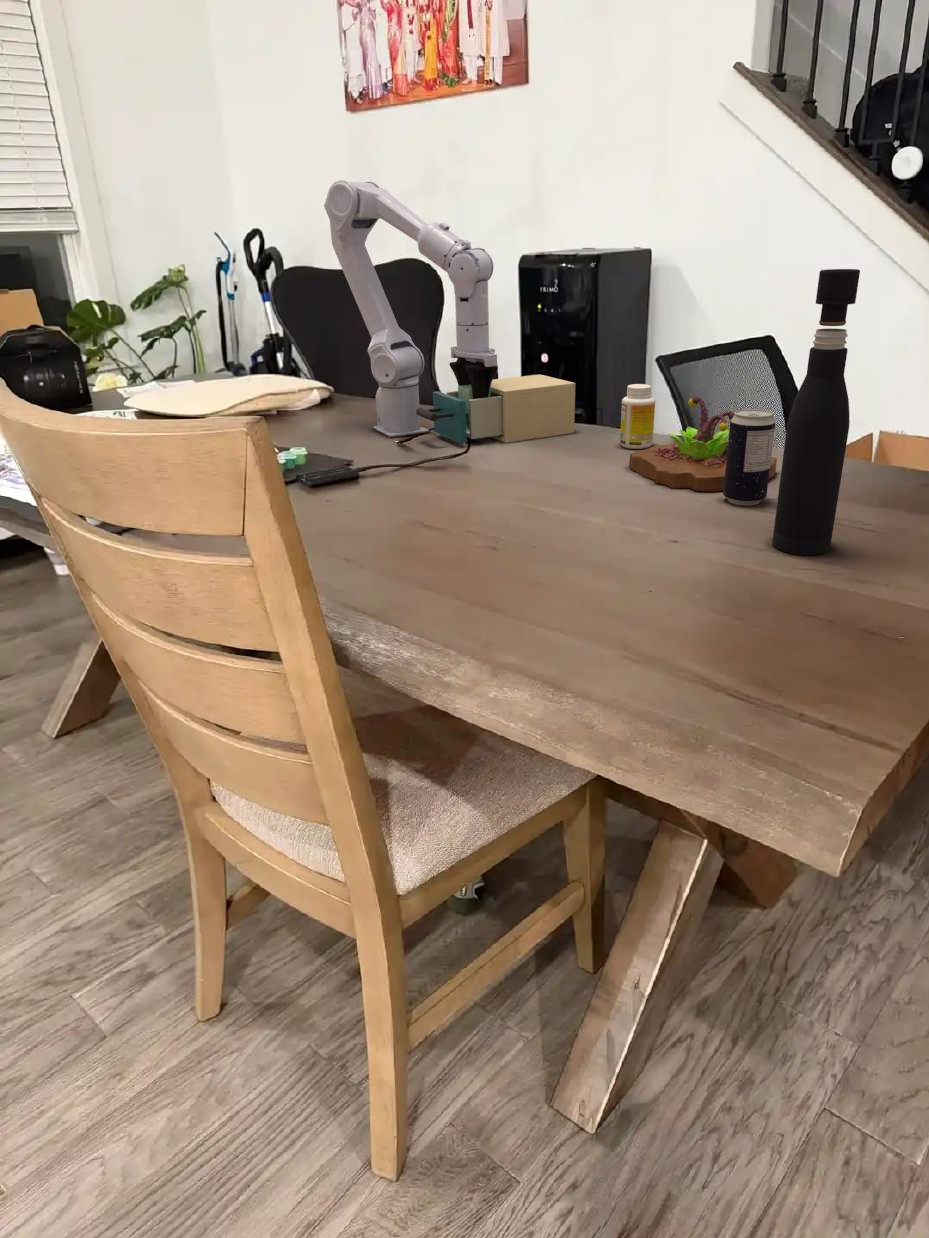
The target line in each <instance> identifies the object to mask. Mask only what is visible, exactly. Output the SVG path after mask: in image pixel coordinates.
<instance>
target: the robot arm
mask: <svg viewBox="0 0 929 1238" xmlns="http://www.w3.org/2000/svg"><path fill="white" fill-rule="evenodd" d="M323 208H324V210H325V212H326V215H327V217H328V219H329V227H330V237H331V238H330V239H331V245H332V248H333V250H334V253H335V255H336V257H337V260H338V262H339V265H340V267H341V269H342V272H343V275H344V277H345V279H346V281H347V283H348V286H349V288H350V291H351V293H352V295H353V298H354V301H355V302H356V305H357V307H358V310H359V312H360V314H361V317H362V319H363V321H364V323H365V326H366V329H367V331H368V333H369V335H370V338H371V340H370V342H369V345H368V348H367V354H368V356H369V360H370V370H371V374H372V376H373V378H374V380H375V381H376V382H377V384H378V388H377V390H376V393H375V406H376V419H377V420H376V421H377V425H373V430H375V431H377V432H379V433H381V434H383V435H386V437H387V436H388V437H389V438H395V437H403V436H404V437H405V436H409V435H417V434H425V433H429V432H430V431H429V428H426V427H424V426H421V416H419V415H417V414H416V410H417V409H418V408H421V407H420V395H419V394H420V392H419V391H420V390H419V382H420V376H421V374H422V373H423V372H424V369H425V358H424V355H423V353H422V351H421V350H420V349H419V348H418V347H417V345H415V343H414V342H413V340H412V337H411V336H410V335H409V334H408V333H407V332H406V331H405V330H403V329H402V328H400V326H399V323H398V322H397V319H396V317H395V315H394V312H393V309H392V306H391V304H390V302H389V300H388V298H387V295H386V293H385V290H384V288H383V285H382V283H381V280H380V278H379V275H378V274H377V271H376V269H375V266H374V264H373V261H372V259H371V256H370V253H369V252H368V250H367V246H366V242H367V238H368V236H369V235H370V233H371V231H372V229H373V228H374V227H375V225H376V224H377V222H378V221H379V220H380V219H381V220H383V221H384V222H386V223H387V224H389V225H390V226H392V227H393V228H394V229H397V230H398V231H400V232H401V233H403V234H404V235H406V236H408V237H409V238H411V239H412V240H413V241H414V242H416V243H417V248H418V252H419V253H420V254H421V255H422V256H424V258H426V259H428V260H429V261H431V262H432V263H433V264H435V265H436V266H437V267H439V268H440V269H442V270H443V271H445V273H447V275H448V278H449V280H450V282H451V283H452V285H453V291H454V293H453V294H454V297H455V298H454V300H455V301H454V303H455V333H456V334H455V335H456V346H451V347H450V358H451V359H456V361H450V362H449V367H450V368H451V371H452V372H453V374H454V377H455V379H456V383H457V385H458V386H462V385H471V387H472V395H473V399H479V398H488V395H489V390H490V386H491V383H492V380H494V377H495V375H496V373H497V371H498V370H499V365H498V354H497V353H496V349H495V348H493V347H490V326H489V325H490V324H489V323H490V319H489V315H490V314H489V280H490V279H491V278H492V276H493V274H494V262H493V259H492V256H491V255H490V254H489V253H488V252H487V251H486V249H485V248H483V247H474V248H472V246H471V245H472V243H471V241H469V240H468V239H462V238H461V237H459V236H458V235H456V234H455V233H454V232H452V231H450V228H451V226H450V225H449V224H447V223H446V222H438V221H436V222H431V223H427V222H426V221H425V220H423V219H422V218H421V217H420V216H418V215H417V214H415V213H414V212H413V211H412V210H411V209H409V208H408V207H407V206H405V204H403V202H401V201H399V200H398V199H397V198H396V197H394V196H393V195H392V194H391V193H390V191H389V190H388V189H386V188H383V187H381V186H380V185H379V184H377V183H376V182H373V181H364V182H363V181H347V180H345V179H343V180H342V179H339V180H336V181H334V182H333V183H332V184H331V186H330V187H329V188H328V191H327V194H326V198H325V201H324V204H323ZM458 386H457V387H458Z"/></svg>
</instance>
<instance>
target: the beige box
mask: <svg viewBox="0 0 929 1238" xmlns="http://www.w3.org/2000/svg"><path fill="white" fill-rule="evenodd" d="M490 387H491V392H494V393H497V394H500V395H503V435H498V436H491V437H490V438H492V439H495V440H498V441H500V442H502V443H505V444H506V443H515V442H521V441H528V440H535V439H542V438H549V437H556V436H561V435H562V436H563V435H570V434H574V433H575V419H576V416H575V415H576V414H575V411H576V383H575V382H574V381H573V382H572V381H570V380H569V381H568V380H565V379H560V378H556V377H552V376H548V375H544V374H531V375H523V376H514V377H512V376H511V377H504V378H495V379H494V378H493V380H492V383H491V386H490Z"/></svg>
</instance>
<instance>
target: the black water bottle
mask: <svg viewBox="0 0 929 1238" xmlns="http://www.w3.org/2000/svg"><path fill="white" fill-rule="evenodd" d="M818 273H819V274H818V282H817V289H816V297H815V298H816V299H815V304H816V305H821V312H820V317H819V318H820V319H819V320H818V324H819V325H820V326H822V327H842V326H845V325H846V324H847V315H848V306H849V305H855V304H856V302H857V301H856V300H857V294H858V288H859V280H860V276H861V270H860V269H857V268H831V269H828V268H827V269H820V271H819V272H818ZM847 331H848V329H846V328H817V329H816V330H815V333H814V334H813V337H814V340H812V344H813V346H812V347H811V348H810V349H809V353H808V362H807V368H806V375H805V377H804V379H803V381H802V383H801V385H800V387H799V389H798V391H797V393H796V395H795V398H794V401H793V403H792V406H791V410H790V413H789V416H788V419H787V423H786V430H785V439H784V447H783V455H782V461H781V462H782V463H781V471H780V479H779V486H778V495H777V501H776V509H775V516H774V517H775V518H774V527H773V533H772V541H771V545H772V546H773V548H775V549H776V550H778V551H780V552H783V553H786V554H791V555H797V556H819V555H823V554H826V553H828V552H829V551H830V550H831V545H832V539H833V534H834V533H833V532H834V526H835V520H836V513H837V507H838V501H839V495H840V488H841V483H842V482H841V481H842V475H843V469H844V462H845V457H846V450H847V443H848V438H849V432H850V431H849V430H850V399H849V394H848V390H847V383H846V378H845V372H846V371H845V369H846V363H847V357H848V351H849V350H848V348H847V347H845V345H846V344H847V340H846V339H847V338H848V336H849V334H847Z"/></svg>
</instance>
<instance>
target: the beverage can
mask: <svg viewBox="0 0 929 1238" xmlns="http://www.w3.org/2000/svg"><path fill="white" fill-rule="evenodd" d="M733 412H734V414H735V415H734V417H733V418H732V420H731V421H730V420H729V428H728V429H729V435H728V438H727V439H728V440H727V441H728V449H727V460H726V470H725V480H724V490H723V491H722V494H723V496H724V497H725V499H727V501H728V502H729V503H730V504H733V505H738V506H756V505H758V504H760V503H761V502H762V501H763V500H765V498H767V495H768V487H769V480H770V479H769V472H770V464H771V457H773V456H772V454H773V446H774V440H775V439H774V438H775V431H776V421H775V418H774V412H773V411H771V410H766V409H757V408H745V409H744V408H743V409H738V410H735V411H733Z"/></svg>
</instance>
